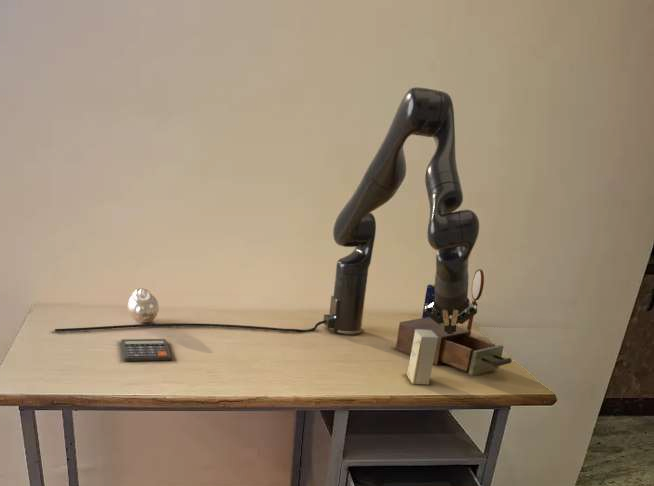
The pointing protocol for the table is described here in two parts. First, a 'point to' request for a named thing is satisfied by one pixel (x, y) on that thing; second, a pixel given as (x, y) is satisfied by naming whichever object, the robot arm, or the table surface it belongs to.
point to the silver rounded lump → (143, 306)
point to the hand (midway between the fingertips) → (450, 331)
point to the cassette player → (429, 297)
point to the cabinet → (427, 323)
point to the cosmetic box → (422, 356)
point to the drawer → (472, 354)
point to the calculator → (145, 349)
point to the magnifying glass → (476, 291)
